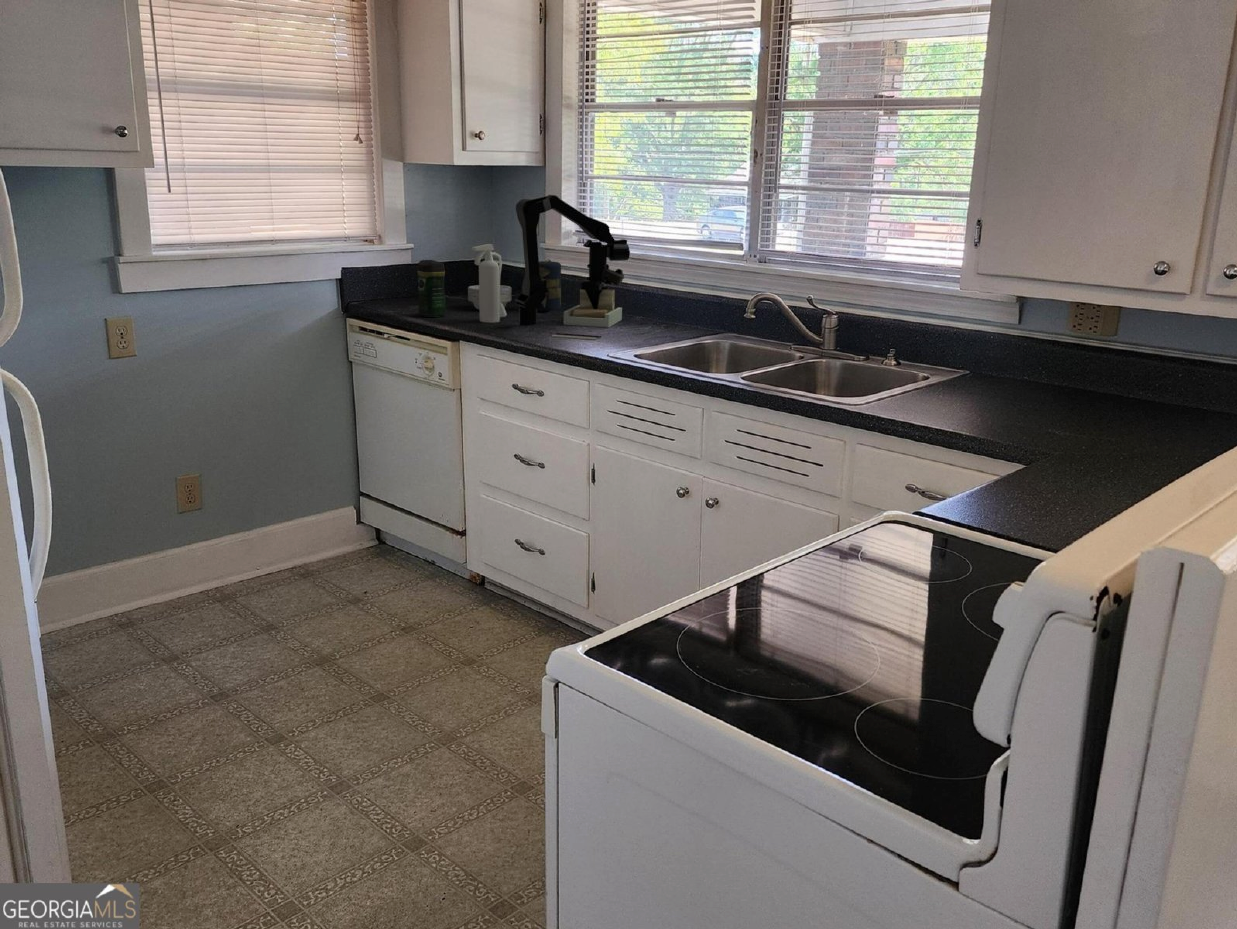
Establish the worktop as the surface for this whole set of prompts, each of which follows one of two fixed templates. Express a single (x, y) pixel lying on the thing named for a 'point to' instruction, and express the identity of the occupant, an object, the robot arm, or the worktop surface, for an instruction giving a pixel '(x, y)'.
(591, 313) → the offcut stack
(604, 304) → the tan wooden block
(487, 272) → the fire extinguisher
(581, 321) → the rack
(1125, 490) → the worktop surface
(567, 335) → the grey mat
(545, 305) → the canister
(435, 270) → the coffee jar
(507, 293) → the paper bowls
